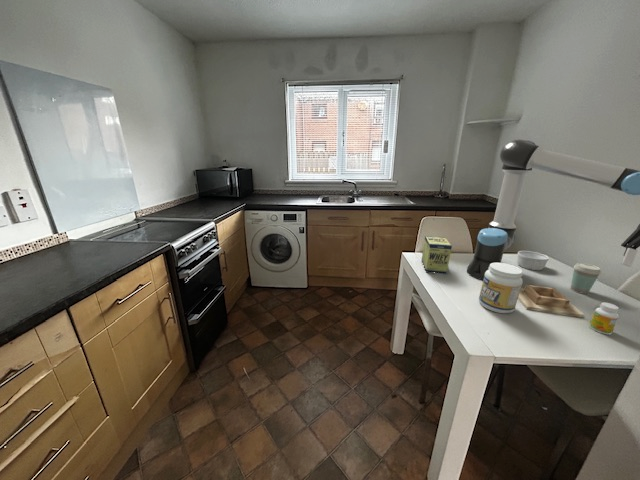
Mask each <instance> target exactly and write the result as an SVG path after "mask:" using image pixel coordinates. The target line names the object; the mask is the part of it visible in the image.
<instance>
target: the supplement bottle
mask: <svg viewBox="0 0 640 480" xmlns="http://www.w3.org/2000/svg"><path fill="white" fill-rule="evenodd" d="M619 309H620V308H619V306H617V305H615V304H614V303H610V302H601V304H600V307H597V308H595V311H594V312H593V315H592V318H591V320H590V322H589V324H588V325H589V328H590V329H591V330H593V331H595V332H597V333H600V334H603V335H611V334H612V333H613V332H614V328H615V325H616V324H617V322H618V320H619V317H620V316H619V314H618V311H619Z"/></svg>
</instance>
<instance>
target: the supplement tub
mask: <svg viewBox="0 0 640 480" xmlns="http://www.w3.org/2000/svg"><path fill="white" fill-rule="evenodd" d="M522 276H523V269H521V268H520V267H517V266H515V265H512V264H509V263H504V262H501V263H491V264H490V266H489V270H487V271H486V272H485V275H484V279H483V280H482V285H481V288H480V292H479V296H478V302H479V303H480V305H481V306H482V307H484V308H486V309H488V310H489V311H492V312H495V313H498V314H511V313H513V312H514V310H515V309H516V305H517V303H518V296H519V293H520V289H522V287H523V286H522V285H523V282H524V281H523V280H524V279H523V278H522Z"/></svg>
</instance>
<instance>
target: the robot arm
mask: <svg viewBox="0 0 640 480" xmlns="http://www.w3.org/2000/svg"><path fill="white" fill-rule="evenodd" d="M499 158H500V161H501V163H502V167H501V171H502V172H503V173H504V176H503V179H502V183H501V187H500V192H499V196H498V200H497V204H496V209H495V213H494V217H493V220H492V221H491V222H489V223H488V228H487V227H486V228H482V229H481V230H480V231H479V232H478V235H477V240H476V245H475V249H474V253H473V254H474V255H473V258H472V260H471V262H470V263H469V265H468V266H467V267H466V273H467V274H468V275H469V276H471V277H473V278H474V279H478V280H480V281H481V280H482V281H483V279H484V275H485V272H486V271H487V270H489V266H490V264H491V263H502V260H503V256H504V252H505V250H507V249H508V248H510V247H512V245H513V244H514V243H515V240H516V230H517V225H516V224H515V221H516V217H517V212H518V208H519V205H520V202H521V201H520V200H521V196H522V193H523V188H524V185H525V182H526V178H527V175H528V174H529V173H531V172H532V170H533V169H535V170H537V171H538V170H539V171H543V172H547V173H551V174H555V175H558V176H562V177H565V178H566V177H567V178H570V179H574V180H578V181H581V182H585V183H589V184H592V185H596V186H600V187H605V188H607V189H612V190H616V191H619V192H623V193H625V194H627V195H630V196H640V170H638V169H633V168H628V167H624V166H619V165H616V164H615V165H614V164H612V163H605V162H602V161H597V160H592V159H589V158H588V159H587V158H582V157H578V156H574V155H569V154H563V153H559V152H557V151H556V152H555V151H550V150H547V149H543V148H542V146H541V145H537V143H535V142H533V141H531V140H526V139H514V140H511V141H509V142H507V143H505V145H504V146H502V148H501V150H500V153H499ZM620 246H621V247H623V248H625V250H624V253H623V258H622V261H621V265H622V266H626V267H630V268H631V267H632V266H633V262H634V261H635V259H636V255H637V253H638V250H637V249H638V248H640V223H639V224H638V226H637V228H635V230H634V231H633V232H632V233H631V234H630V236H628V237H627V238H626V239H625V240H624V241H623V242H622V243H621V245H620Z"/></svg>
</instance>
